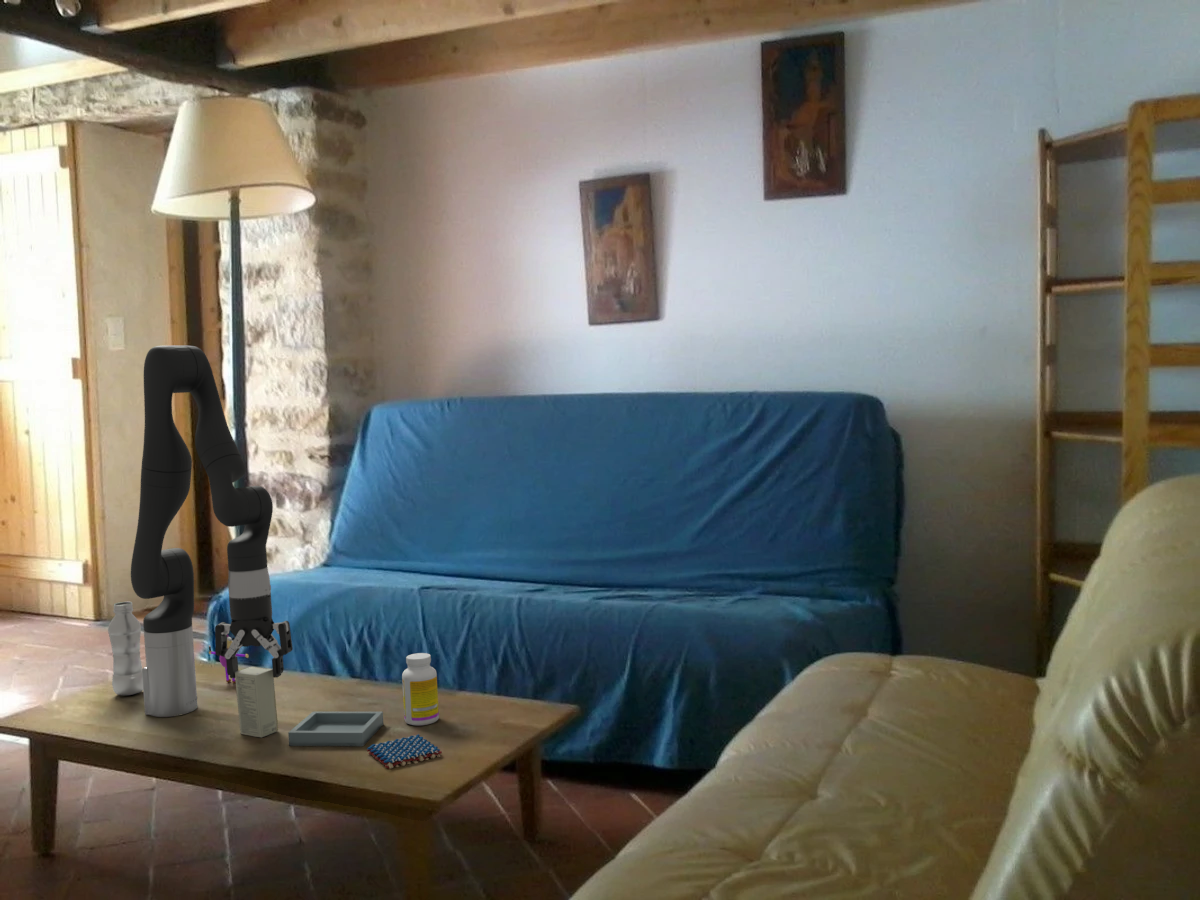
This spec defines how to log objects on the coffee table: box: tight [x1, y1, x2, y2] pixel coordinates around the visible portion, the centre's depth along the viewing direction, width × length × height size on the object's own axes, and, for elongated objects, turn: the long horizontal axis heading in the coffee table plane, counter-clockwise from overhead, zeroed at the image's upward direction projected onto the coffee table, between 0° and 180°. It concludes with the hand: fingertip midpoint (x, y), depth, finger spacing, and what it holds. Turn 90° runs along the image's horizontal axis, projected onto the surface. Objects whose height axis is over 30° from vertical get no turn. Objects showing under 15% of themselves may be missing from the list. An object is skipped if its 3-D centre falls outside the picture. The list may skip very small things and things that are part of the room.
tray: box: [287, 711, 385, 747], centre depth 202 cm, size 14×12×2 cm
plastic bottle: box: [107, 601, 143, 696], centre depth 233 cm, size 6×7×20 cm
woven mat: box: [366, 734, 443, 769], centre depth 191 cm, size 10×11×2 cm
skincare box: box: [235, 666, 279, 738], centre depth 205 cm, size 6×4×12 cm
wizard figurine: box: [208, 634, 249, 684], centre depth 239 cm, size 11×3×12 cm, turn 66°
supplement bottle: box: [401, 652, 440, 727], centre depth 208 cm, size 7×7×13 cm
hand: (256, 676), depth 204 cm, fingers open, 8 cm apart
